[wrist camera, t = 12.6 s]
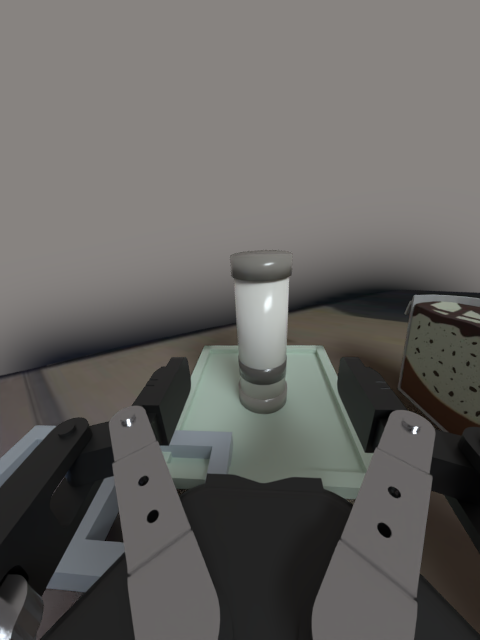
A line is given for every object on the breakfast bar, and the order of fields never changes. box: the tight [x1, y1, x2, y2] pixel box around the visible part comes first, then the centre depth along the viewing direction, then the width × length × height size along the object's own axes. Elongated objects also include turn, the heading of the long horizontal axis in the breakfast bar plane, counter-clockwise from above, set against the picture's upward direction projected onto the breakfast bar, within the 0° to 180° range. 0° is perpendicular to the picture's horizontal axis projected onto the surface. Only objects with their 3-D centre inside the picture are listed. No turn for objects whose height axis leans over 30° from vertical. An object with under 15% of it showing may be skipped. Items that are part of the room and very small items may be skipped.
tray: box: [162, 346, 374, 499], centre depth 24 cm, size 16×18×1 cm
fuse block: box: [0, 425, 233, 592], centre depth 16 cm, size 17×8×2 cm, turn 85°
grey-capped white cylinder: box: [230, 250, 293, 414], centre depth 21 cm, size 5×5×14 cm
